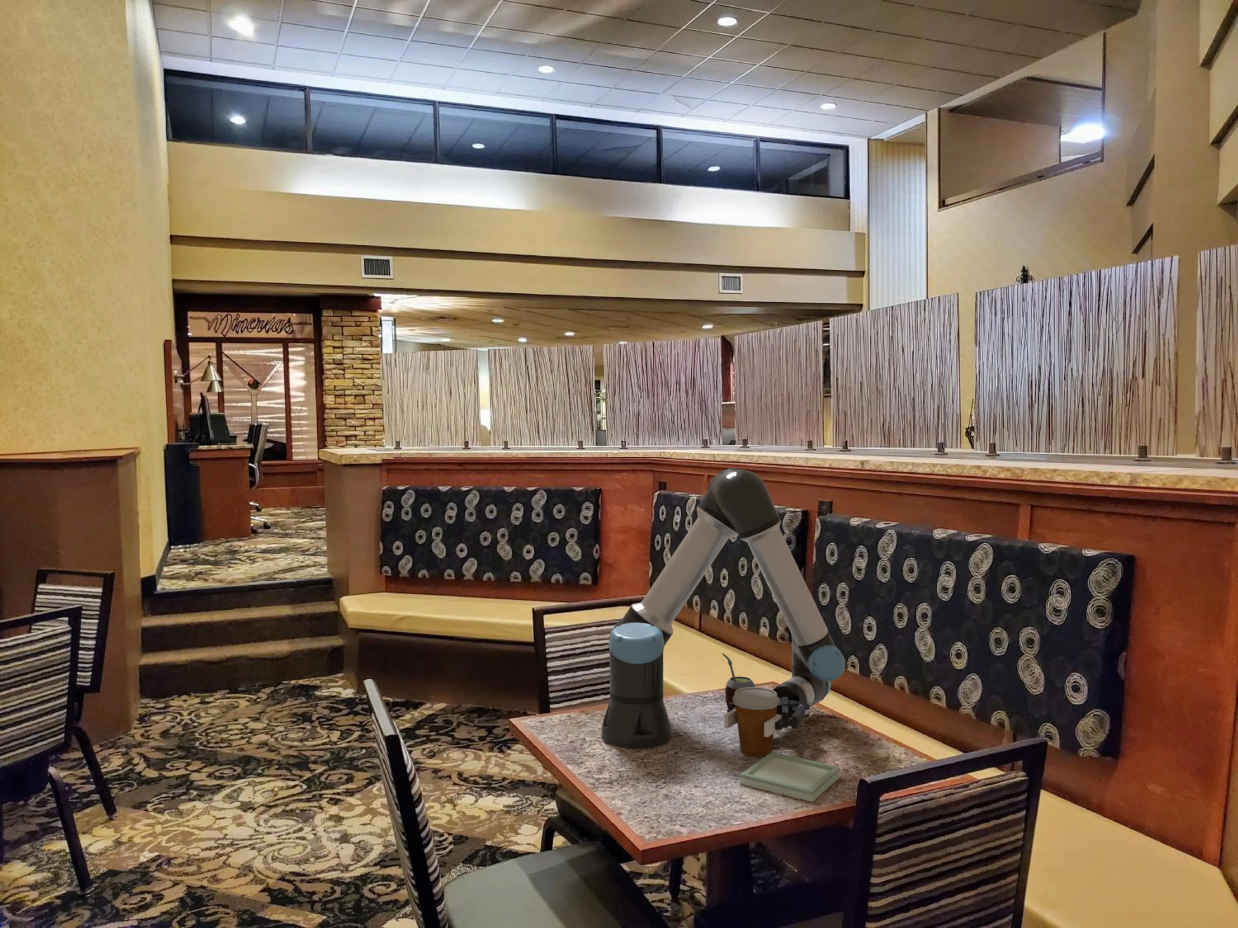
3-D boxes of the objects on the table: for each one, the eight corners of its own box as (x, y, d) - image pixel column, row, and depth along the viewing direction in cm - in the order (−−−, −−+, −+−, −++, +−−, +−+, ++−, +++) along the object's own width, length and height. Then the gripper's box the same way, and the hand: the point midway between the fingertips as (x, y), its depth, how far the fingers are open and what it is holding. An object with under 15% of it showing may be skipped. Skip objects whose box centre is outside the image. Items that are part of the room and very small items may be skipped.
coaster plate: (740, 783, 153) (740, 773, 153) (772, 760, 164) (772, 751, 164) (811, 802, 144) (812, 791, 144) (840, 776, 156) (840, 767, 156)
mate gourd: (756, 709, 197) (756, 647, 197) (754, 719, 189) (754, 654, 189) (725, 707, 198) (725, 645, 198) (721, 717, 191) (721, 653, 191)
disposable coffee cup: (779, 760, 164) (779, 700, 164) (731, 757, 166) (731, 698, 165) (779, 744, 173) (779, 687, 173) (734, 741, 175) (734, 685, 175)
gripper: (836, 723, 178) (794, 755, 159) (748, 706, 190) (700, 733, 171) (836, 689, 178) (794, 716, 159) (748, 674, 190) (700, 697, 171)
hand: (745, 725), depth 165 cm, fingers closed on disposable coffee cup, 8 cm apart
